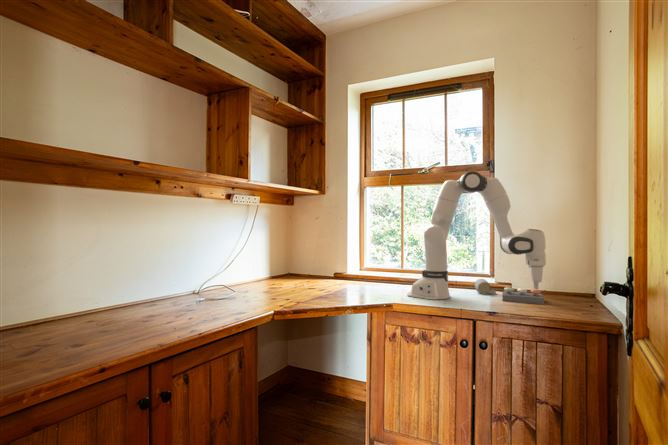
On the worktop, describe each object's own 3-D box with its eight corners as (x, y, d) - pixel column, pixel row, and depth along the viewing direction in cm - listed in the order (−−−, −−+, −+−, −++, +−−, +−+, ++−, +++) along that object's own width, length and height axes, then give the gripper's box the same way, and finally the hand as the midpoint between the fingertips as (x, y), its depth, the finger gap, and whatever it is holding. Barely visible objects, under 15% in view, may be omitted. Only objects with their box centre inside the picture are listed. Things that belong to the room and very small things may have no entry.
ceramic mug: (477, 294, 190) (478, 280, 190) (474, 291, 198) (474, 278, 198) (498, 295, 188) (498, 281, 188) (493, 292, 196) (493, 279, 197)
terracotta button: (530, 298, 171) (530, 290, 171) (530, 297, 175) (530, 288, 175) (541, 299, 169) (541, 291, 169) (540, 298, 173) (540, 289, 173)
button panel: (502, 300, 173) (502, 295, 173) (502, 296, 184) (502, 291, 184) (543, 304, 165) (543, 298, 165) (541, 299, 176) (541, 293, 176)
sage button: (504, 296, 176) (504, 288, 176) (504, 295, 180) (504, 287, 180) (513, 297, 174) (513, 289, 174) (513, 295, 178) (513, 287, 178)
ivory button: (517, 297, 174) (517, 289, 174) (517, 296, 177) (517, 287, 177) (527, 298, 172) (527, 290, 172) (526, 297, 175) (526, 288, 175)
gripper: (527, 259, 183) (527, 284, 182) (529, 262, 164) (529, 291, 164) (541, 259, 180) (541, 285, 179) (544, 263, 162) (545, 292, 161)
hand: (536, 288), depth 172 cm, fingers closed
